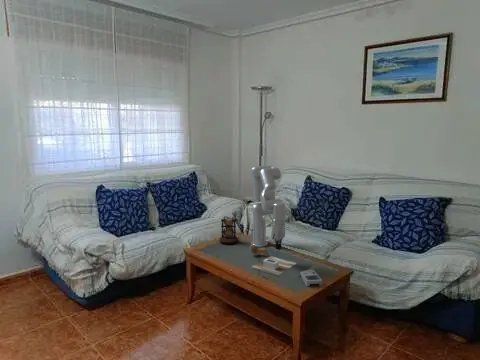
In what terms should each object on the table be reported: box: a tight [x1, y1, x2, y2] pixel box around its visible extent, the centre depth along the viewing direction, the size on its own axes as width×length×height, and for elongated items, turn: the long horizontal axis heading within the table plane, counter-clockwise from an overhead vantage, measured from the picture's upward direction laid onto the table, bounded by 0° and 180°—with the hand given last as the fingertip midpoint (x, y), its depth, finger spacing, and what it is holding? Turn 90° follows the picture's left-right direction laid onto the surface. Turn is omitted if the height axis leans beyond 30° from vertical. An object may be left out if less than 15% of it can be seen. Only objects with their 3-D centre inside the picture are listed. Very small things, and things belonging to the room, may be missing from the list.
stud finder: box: [263, 258, 279, 270], centre depth 213 cm, size 5×8×4 cm, turn 55°
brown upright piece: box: [218, 216, 239, 245], centre depth 264 cm, size 15×15×20 cm
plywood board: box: [251, 255, 297, 278], centre depth 217 cm, size 22×20×2 cm
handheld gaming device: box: [299, 269, 323, 287], centre depth 198 cm, size 9×15×4 cm, turn 6°
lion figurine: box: [249, 244, 270, 258], centre depth 233 cm, size 15×5×9 cm, turn 86°
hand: (278, 249), depth 221 cm, fingers closed
